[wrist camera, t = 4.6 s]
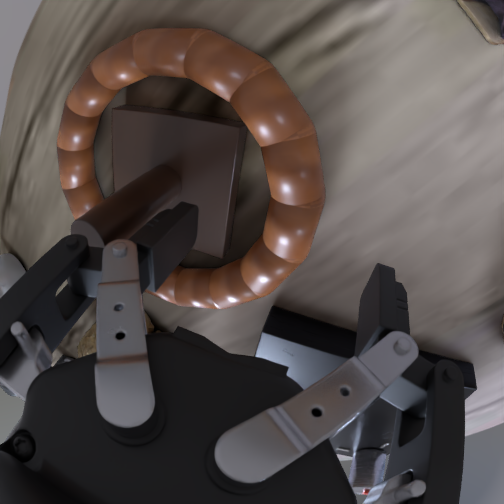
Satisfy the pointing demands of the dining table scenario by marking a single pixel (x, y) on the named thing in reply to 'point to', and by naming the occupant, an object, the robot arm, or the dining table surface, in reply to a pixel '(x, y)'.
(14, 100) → the dining table surface
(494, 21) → the bread roll
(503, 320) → the tan disc
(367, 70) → the dining table surface
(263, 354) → the hob
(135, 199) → the peg
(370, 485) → the hob knob
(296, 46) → the dining table surface
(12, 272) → the plastic bottle
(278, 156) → the brown segmented ring
